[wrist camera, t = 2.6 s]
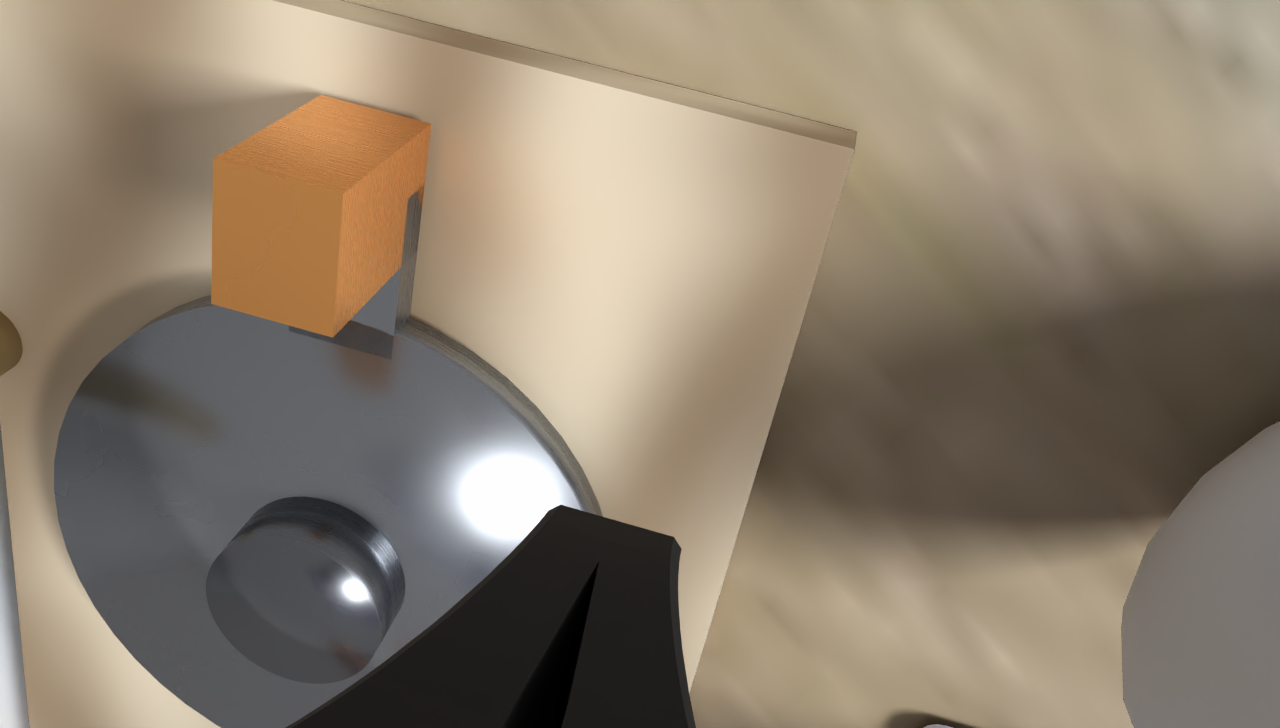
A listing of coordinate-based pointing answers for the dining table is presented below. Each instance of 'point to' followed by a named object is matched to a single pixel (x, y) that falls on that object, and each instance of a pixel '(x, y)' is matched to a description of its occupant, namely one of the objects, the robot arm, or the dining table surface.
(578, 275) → the board
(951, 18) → the dining table surface
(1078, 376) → the dining table surface
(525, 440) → the flange plate
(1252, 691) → the donut
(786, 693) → the dining table surface
